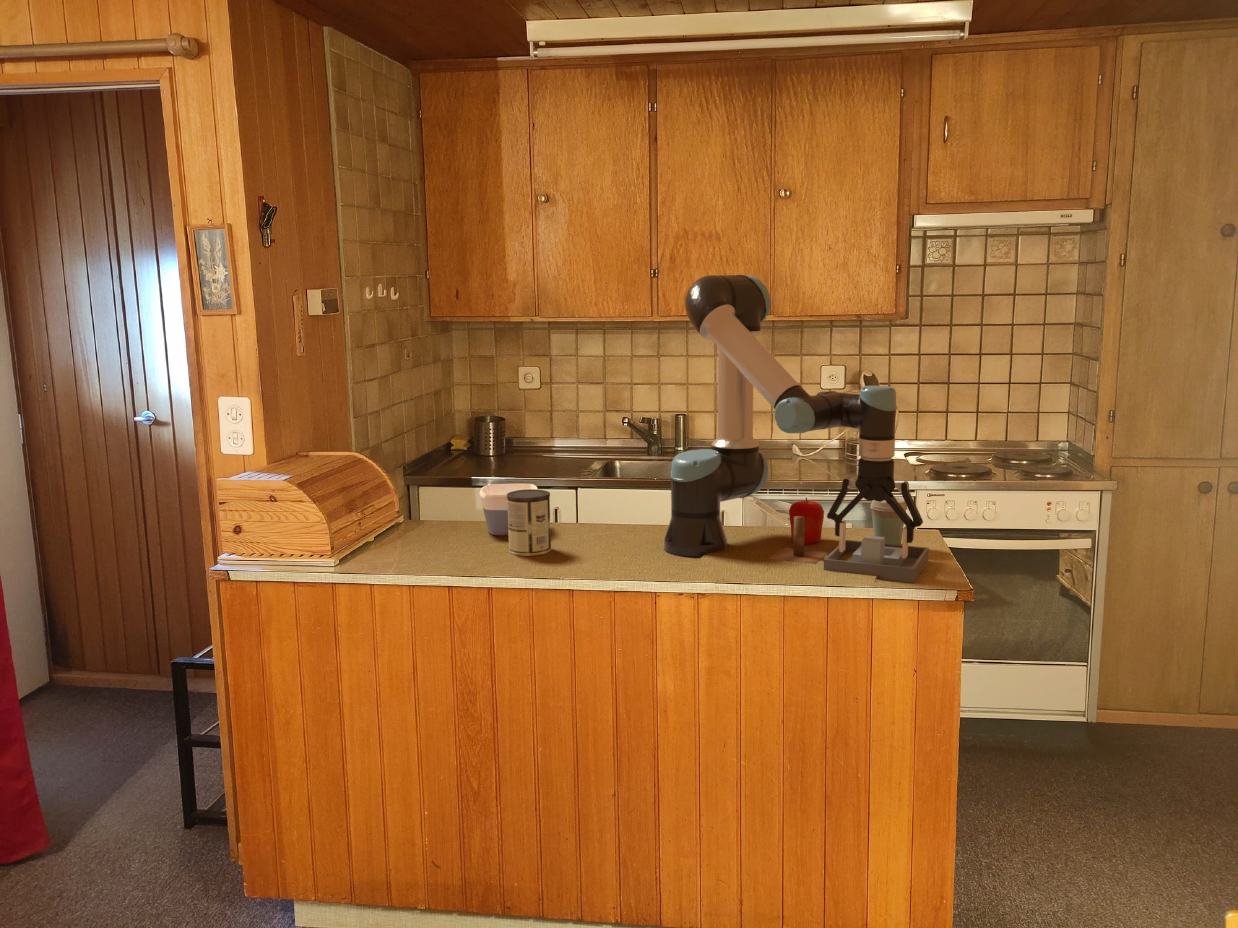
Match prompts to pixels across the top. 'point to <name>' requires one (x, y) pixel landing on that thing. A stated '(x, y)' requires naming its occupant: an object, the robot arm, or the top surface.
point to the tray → (884, 572)
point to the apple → (808, 519)
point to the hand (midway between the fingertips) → (873, 553)
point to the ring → (877, 552)
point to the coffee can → (529, 522)
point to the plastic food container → (499, 505)
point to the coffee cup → (887, 521)
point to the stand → (798, 547)
